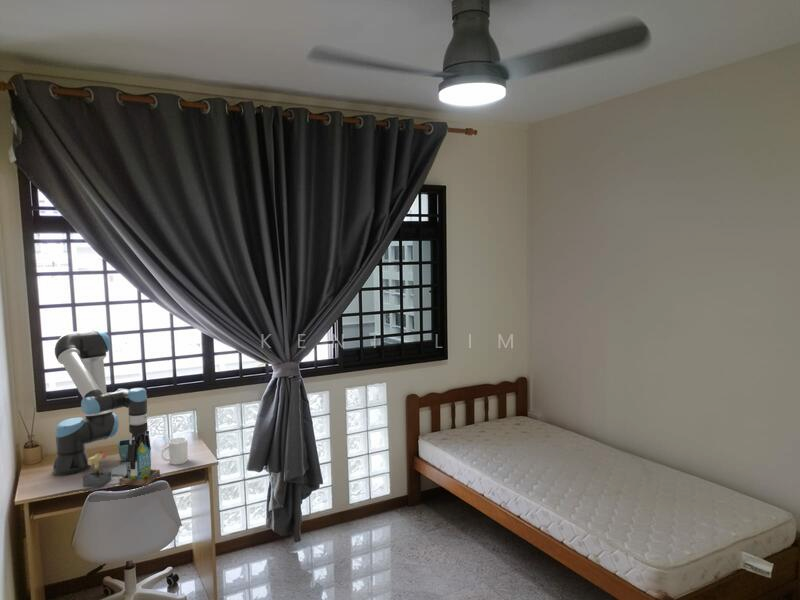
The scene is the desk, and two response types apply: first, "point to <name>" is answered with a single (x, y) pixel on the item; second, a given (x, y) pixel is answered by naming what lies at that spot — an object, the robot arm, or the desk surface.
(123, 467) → the mat
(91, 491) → the desk surface
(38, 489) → the desk surface
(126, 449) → the flower pot
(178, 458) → the mug
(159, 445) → the desk surface
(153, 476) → the frame
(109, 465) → the desk surface
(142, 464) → the carton
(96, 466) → the key
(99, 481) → the block
